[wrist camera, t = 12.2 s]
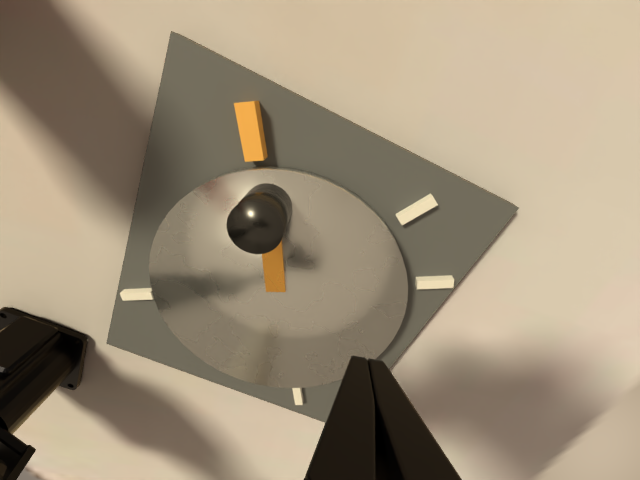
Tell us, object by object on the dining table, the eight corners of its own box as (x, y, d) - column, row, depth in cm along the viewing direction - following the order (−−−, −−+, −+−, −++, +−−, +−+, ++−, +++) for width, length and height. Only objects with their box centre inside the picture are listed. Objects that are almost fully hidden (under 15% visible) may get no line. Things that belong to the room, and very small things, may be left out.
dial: (393, 380, 23) (403, 433, 20) (185, 373, 24) (158, 422, 21) (419, 164, 16) (441, 185, 13) (127, 166, 17) (71, 185, 14)
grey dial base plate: (341, 419, 27) (341, 440, 26) (113, 336, 25) (97, 353, 23) (512, 203, 18) (528, 214, 17) (178, 33, 16) (160, 27, 14)
